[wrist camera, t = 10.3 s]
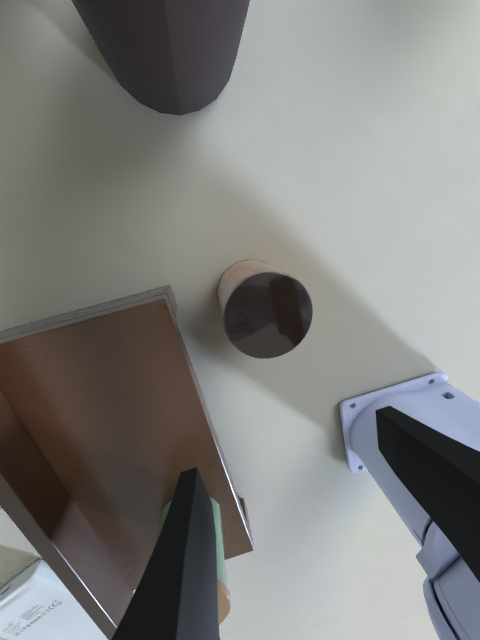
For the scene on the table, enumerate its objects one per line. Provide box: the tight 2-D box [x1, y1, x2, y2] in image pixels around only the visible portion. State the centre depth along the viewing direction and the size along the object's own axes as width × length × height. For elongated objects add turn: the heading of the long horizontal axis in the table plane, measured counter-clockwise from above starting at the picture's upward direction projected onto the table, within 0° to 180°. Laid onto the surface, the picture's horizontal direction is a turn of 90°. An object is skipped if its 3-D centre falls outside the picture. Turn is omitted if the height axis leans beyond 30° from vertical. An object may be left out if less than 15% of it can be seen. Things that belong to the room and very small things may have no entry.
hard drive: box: [0, 559, 108, 640], centre depth 26 cm, size 2×8×12 cm
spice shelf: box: [0, 285, 254, 640], centre depth 19 cm, size 11×22×6 cm, turn 14°
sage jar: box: [156, 496, 230, 624], centre depth 18 cm, size 5×5×6 cm
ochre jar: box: [218, 260, 312, 358], centre depth 17 cm, size 5×5×6 cm
